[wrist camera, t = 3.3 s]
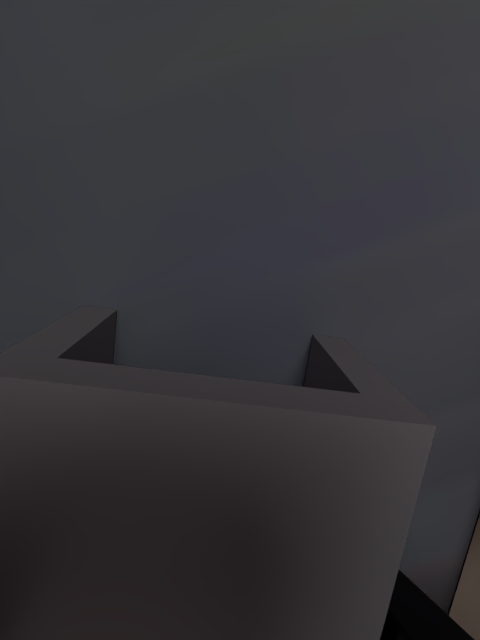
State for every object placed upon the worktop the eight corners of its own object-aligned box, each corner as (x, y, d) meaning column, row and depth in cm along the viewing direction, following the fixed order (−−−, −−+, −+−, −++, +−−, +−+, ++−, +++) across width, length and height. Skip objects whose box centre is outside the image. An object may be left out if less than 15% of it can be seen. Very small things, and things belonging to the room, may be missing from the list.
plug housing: (284, 633, 11) (319, 865, 7) (64, 617, 10) (-31, 853, 6) (344, 338, 9) (436, 425, 5) (82, 305, 9) (-34, 372, 5)
